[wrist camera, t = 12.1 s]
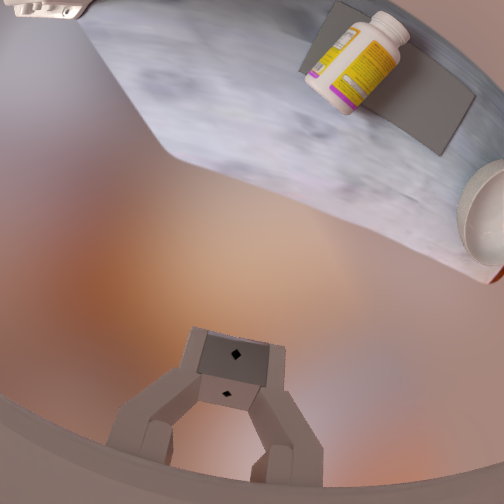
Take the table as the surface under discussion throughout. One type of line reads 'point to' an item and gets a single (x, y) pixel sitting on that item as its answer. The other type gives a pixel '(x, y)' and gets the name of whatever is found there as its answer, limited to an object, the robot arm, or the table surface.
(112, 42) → the table surface
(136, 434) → the robot arm
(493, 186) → the cereal bowl
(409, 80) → the mat
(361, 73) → the supplement bottle
